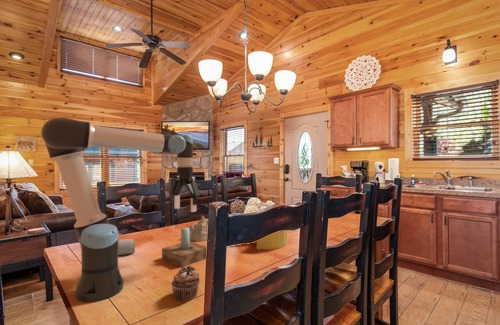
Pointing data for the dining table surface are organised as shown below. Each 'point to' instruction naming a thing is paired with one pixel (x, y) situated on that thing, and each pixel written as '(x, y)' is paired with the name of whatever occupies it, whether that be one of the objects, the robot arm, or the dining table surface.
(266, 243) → the cheese
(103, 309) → the dining table surface
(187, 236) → the peg
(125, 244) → the ceramic mug
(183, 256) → the socket block
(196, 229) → the sand castle
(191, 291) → the cupcake
